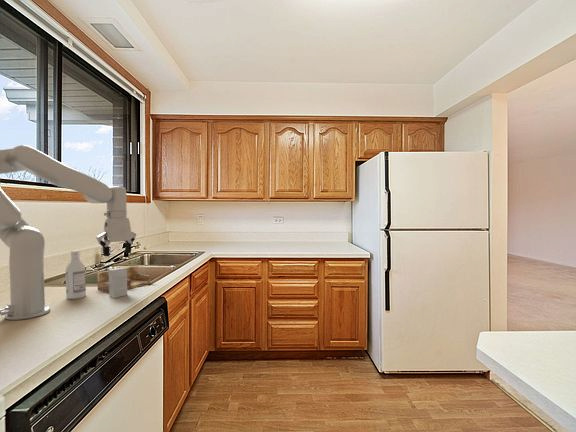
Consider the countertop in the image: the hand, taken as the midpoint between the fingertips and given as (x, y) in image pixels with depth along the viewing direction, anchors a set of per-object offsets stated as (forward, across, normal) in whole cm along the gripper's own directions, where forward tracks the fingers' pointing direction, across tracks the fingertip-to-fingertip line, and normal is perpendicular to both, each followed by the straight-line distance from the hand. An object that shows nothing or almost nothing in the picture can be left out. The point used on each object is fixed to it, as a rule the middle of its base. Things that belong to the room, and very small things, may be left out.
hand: (117, 254), depth 137 cm
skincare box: (+18, 0, 0) cm, 18 cm away
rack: (+18, +11, +12) cm, 24 cm away
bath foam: (+18, -10, +14) cm, 25 cm away
